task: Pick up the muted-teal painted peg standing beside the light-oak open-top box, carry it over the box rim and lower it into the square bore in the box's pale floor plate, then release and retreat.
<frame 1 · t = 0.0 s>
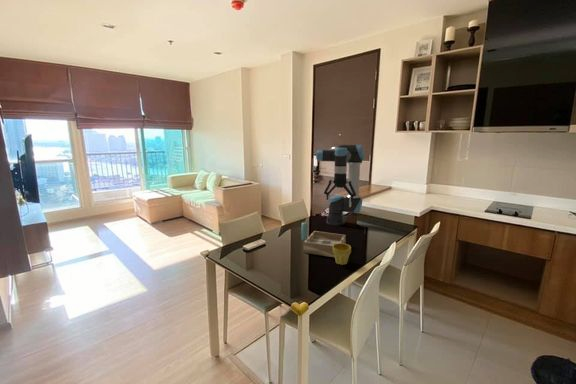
hand: (339, 205, 176), 28 cm above the table, fingers open, 13 cm apart
peg: (304, 239, 195), on the table
box: (325, 248, 179), on the table
plant pot: (341, 262, 159), on the table
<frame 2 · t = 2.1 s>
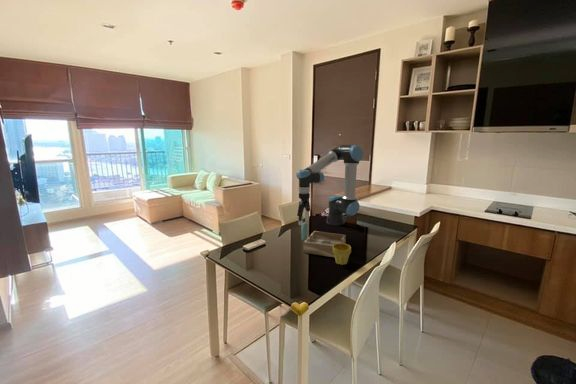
hand: (303, 222, 192), 13 cm above the table, fingers open, 13 cm apart
nothing on the table moved.
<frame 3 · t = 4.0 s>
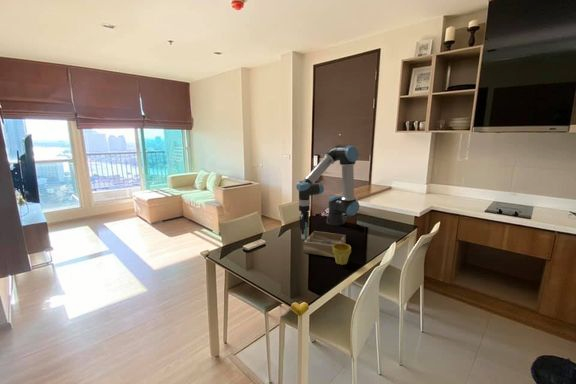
hand: (304, 236, 195), 2 cm above the table, fingers closed on peg, 4 cm apart
peg: (304, 239, 195), on the table, touching gripper
everything else where it was.
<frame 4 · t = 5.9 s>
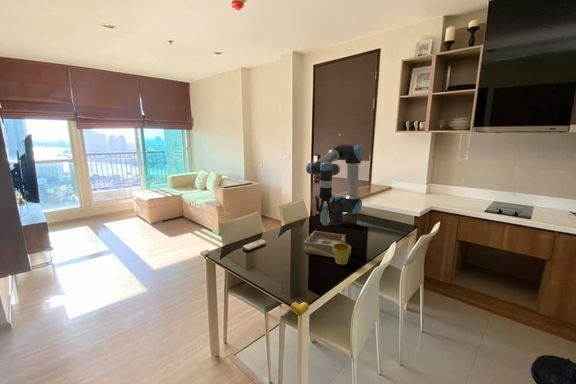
hand: (325, 222, 179), 17 cm above the table, fingers closed on peg, 4 cm apart
peg: (324, 224, 179), point 15 cm above the table, touching gripper
everything else where it was.
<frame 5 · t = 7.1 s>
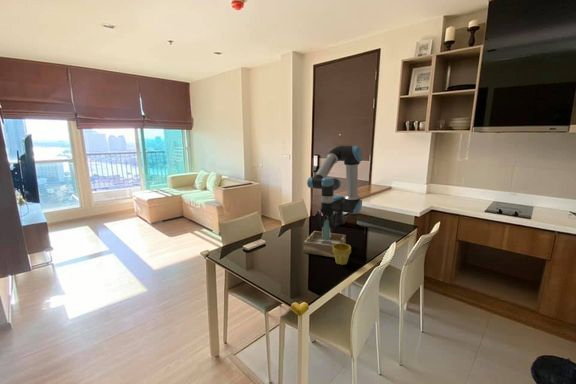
hand: (326, 236, 180), 7 cm above the table, fingers closed on peg, 4 cm apart
peg: (326, 238, 181), point 6 cm above the table, touching gripper
everything else where it was.
when the fingers open (4 cm above the table, at t = 8.0 s): peg drops 2 cm, resting in box.
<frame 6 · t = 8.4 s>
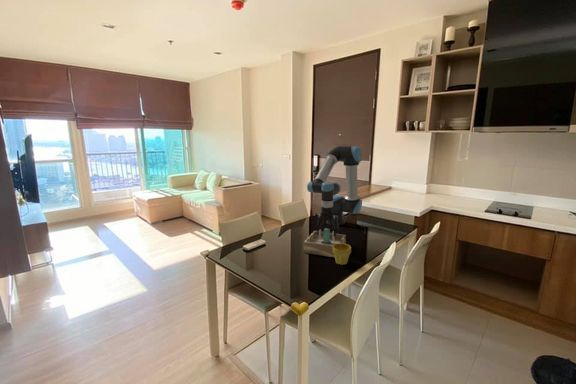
hand: (326, 239, 181), 5 cm above the table, fingers open, 8 cm apart
peg: (326, 246, 182), resting in box
everything else where it was.
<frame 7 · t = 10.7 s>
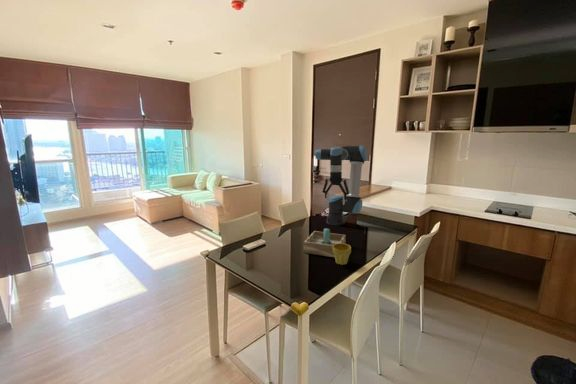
hand: (335, 203, 186), 27 cm above the table, fingers open, 10 cm apart
nothing on the table moved.
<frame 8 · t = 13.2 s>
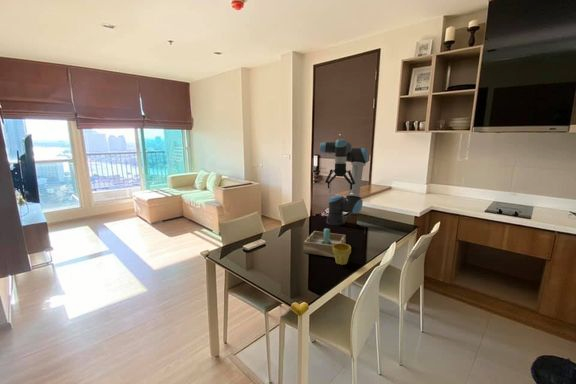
hand: (339, 193, 190), 33 cm above the table, fingers open, 13 cm apart
nothing on the table moved.
at the end: peg 0.1 cm from the target spot on the box, point 0.0 cm above the box's base; peg tilted 0°; the gripper is holding nothing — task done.
